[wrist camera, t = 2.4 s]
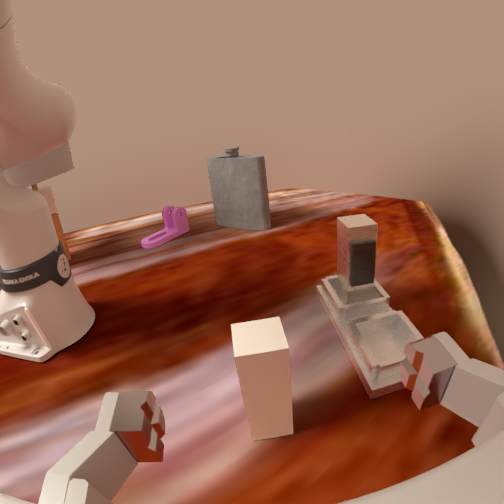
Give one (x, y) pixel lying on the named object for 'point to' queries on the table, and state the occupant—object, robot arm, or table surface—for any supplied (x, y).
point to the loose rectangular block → (264, 376)
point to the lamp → (41, 171)
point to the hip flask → (239, 190)
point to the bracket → (168, 227)
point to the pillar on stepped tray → (365, 309)
